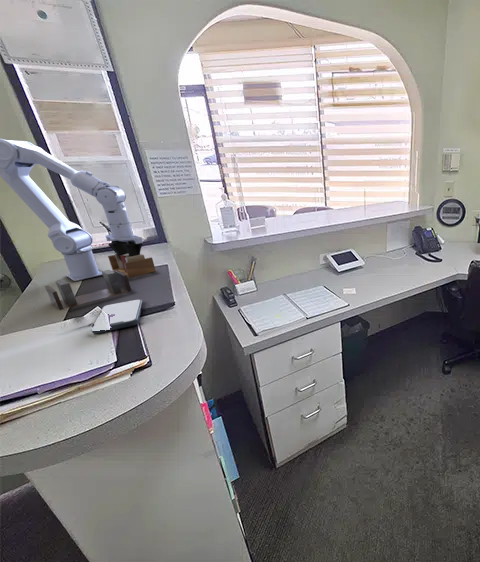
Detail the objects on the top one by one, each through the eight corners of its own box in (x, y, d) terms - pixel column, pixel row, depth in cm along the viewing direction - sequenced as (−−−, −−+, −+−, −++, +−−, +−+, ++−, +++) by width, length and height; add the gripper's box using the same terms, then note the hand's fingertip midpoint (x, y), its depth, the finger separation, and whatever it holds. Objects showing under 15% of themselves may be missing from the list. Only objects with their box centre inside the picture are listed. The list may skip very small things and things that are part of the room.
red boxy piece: (125, 272, 109) (119, 255, 106) (139, 267, 113) (134, 251, 111) (128, 272, 108) (123, 255, 106) (143, 268, 113) (138, 252, 110)
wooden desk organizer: (112, 271, 112) (106, 253, 110) (138, 266, 118) (133, 248, 116) (130, 280, 103) (123, 260, 101) (156, 273, 110) (151, 254, 107)
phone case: (104, 310, 82) (91, 336, 70) (102, 305, 82) (88, 329, 69) (144, 303, 87) (139, 325, 74) (142, 298, 86) (137, 319, 73)
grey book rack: (61, 313, 81) (50, 288, 78) (53, 306, 85) (43, 282, 82) (132, 293, 93) (125, 271, 90) (122, 287, 97) (115, 266, 95)
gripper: (91, 224, 103) (104, 263, 108) (122, 226, 99) (134, 267, 104) (113, 221, 109) (124, 257, 114) (144, 223, 105) (154, 261, 110)
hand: (130, 261), depth 109 cm, fingers open, 5 cm apart
